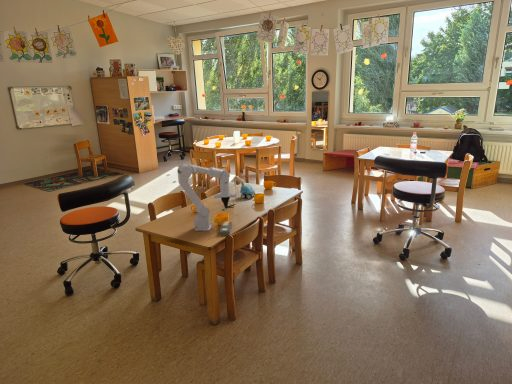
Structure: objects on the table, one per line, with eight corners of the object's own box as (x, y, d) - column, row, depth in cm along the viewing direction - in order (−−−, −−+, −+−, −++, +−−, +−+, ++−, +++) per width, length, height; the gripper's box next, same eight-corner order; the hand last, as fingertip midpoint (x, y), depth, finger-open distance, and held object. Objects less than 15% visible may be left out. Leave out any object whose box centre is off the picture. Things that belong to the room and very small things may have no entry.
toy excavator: (238, 194, 288) (237, 174, 283) (256, 196, 281) (255, 175, 275) (233, 197, 280) (231, 177, 275) (251, 199, 273) (250, 178, 268)
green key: (222, 233, 211) (221, 230, 210) (222, 231, 214) (222, 228, 213) (227, 233, 211) (226, 230, 210) (227, 231, 214) (227, 228, 213)
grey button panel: (219, 235, 211) (219, 231, 210) (222, 225, 225) (222, 221, 225) (229, 235, 210) (229, 231, 210) (232, 225, 225) (231, 221, 224)
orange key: (224, 226, 222) (224, 223, 221) (225, 224, 224) (224, 221, 224) (229, 226, 221) (228, 223, 221) (229, 224, 224) (229, 221, 224)
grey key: (223, 228, 216) (223, 225, 215) (223, 226, 219) (223, 223, 218) (228, 228, 216) (227, 225, 215) (228, 226, 219) (228, 223, 218)
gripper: (236, 186, 226) (237, 205, 230) (214, 186, 226) (216, 206, 230) (235, 189, 219) (237, 209, 223) (212, 189, 220) (214, 210, 224)
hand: (226, 208), depth 226 cm, fingers closed
